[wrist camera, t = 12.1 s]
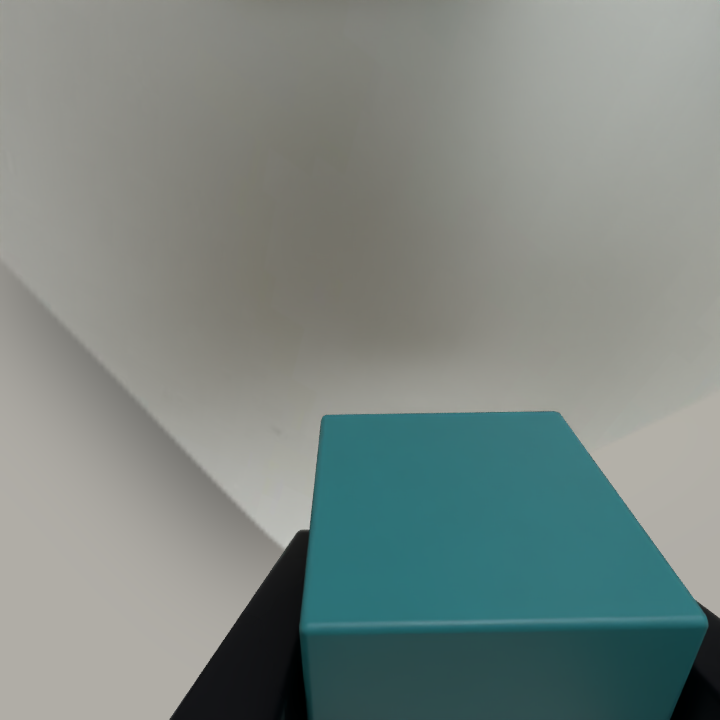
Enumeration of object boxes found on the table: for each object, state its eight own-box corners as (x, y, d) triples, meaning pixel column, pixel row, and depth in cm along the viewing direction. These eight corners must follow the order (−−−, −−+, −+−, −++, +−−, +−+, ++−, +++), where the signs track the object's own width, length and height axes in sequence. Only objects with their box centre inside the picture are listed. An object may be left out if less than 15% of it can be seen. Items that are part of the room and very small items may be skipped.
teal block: (329, 584, 10) (316, 841, 6) (321, 412, 8) (296, 630, 5) (527, 581, 10) (626, 834, 6) (559, 408, 8) (716, 621, 5)
